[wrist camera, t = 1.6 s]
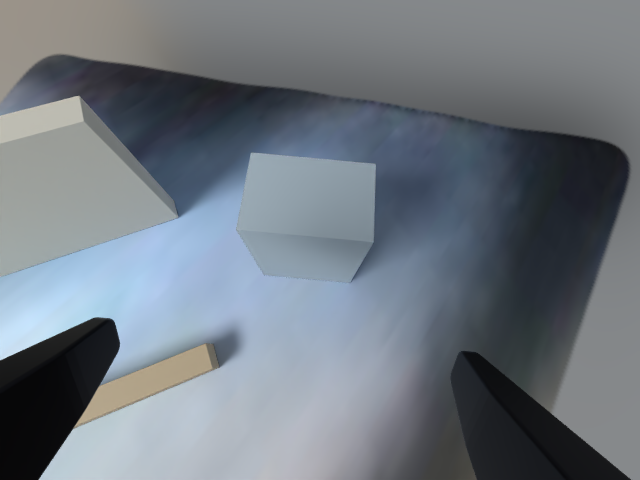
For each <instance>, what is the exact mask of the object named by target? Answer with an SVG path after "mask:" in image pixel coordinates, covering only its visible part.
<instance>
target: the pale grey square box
mask: <svg viewBox="0 0 640 480" xmlns="http://www.w3.org/2000/svg"><path fill="white" fill-rule="evenodd" d="M375 174H376V164H371V163H360V162H349V161H338V160H327V159H316V158H305V157H294V156H283V155H272V154H261V153H251V156H250V161H249V166H248V171H247V176H246V181H245V186H244V191H243V197H242V202H241V207H240V212H239V217H238V222H237V227H236V230H237V232H238V234H239V235H240V237H241V239H242V240H243V242H244V244H245V245H246V247H247V249H248V250H249V252H250V254H251V255H252V257H253V258H254V260H255V262H256V263H257V265H258V267H259V268H260V270H261V272H262V273H263V275H264V276H275V277H286V278H297V279H308V280H319V281H330V282H341V283H350V282H351V280H352V278H353V277H354V275H355V273H356V272H357V270H358V268H359V266H360V265H361V263H362V261H363V260H364V258H365V256H366V255H367V253H368V251H369V249H370V248H371V246H372V244H373V243H374V214H375Z"/></svg>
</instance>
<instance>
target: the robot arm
mask: <svg viewBox="0 0 640 480" xmlns="http://www.w3.org/2000/svg"><path fill="white" fill-rule="evenodd" d="M119 347H120V341H119V337H118V333H117V329H116V325H115V322H114V321H113V320H112V319H110V318H99V317H97V318H93V319H90V320H88V321H86V322H84V323H81V324H79V325H77V326H75V327H73V328H70V329H68V330H66V331H64V332H62V333H60V334H57V335H55V336H53V337H51V338H49V339H46V340H44V341H42V342H40V343H38V344H35V345H33V346H31V347H29V348H27V349H24V350H22V351H20V352H18V353H16V354H13V355H11V356H9V357H7V358H5V359H3V360H0V480H39V478H40V477H41V475H42V474H43V472H44V471H45V469H46V468H47V467H48V465H49V464H50V462H51V461H52V459H53V458H54V456H55V455H56V453H57V452H58V450H59V449H60V447H61V446H62V444H63V443H64V441H65V440H66V439H67V437H68V436H69V434H70V433H71V431H72V430H73V428H74V427H75V425H76V424H77V422H78V421H79V419H80V418H81V416H82V415H83V413H84V412H85V410H86V408H87V407H88V405H89V403H90V402H91V400H92V398H93V396H94V394H95V393H96V391H97V389H98V387H99V385H100V384H101V382H102V380H103V378H104V376H105V375H106V373H107V371H108V369H109V367H110V366H111V364H112V362H113V360H114V358H115V357H116V355H117V353H118V351H119ZM450 380H451V386H452V390H453V394H454V398H455V403H456V407H457V411H458V416H459V420H460V424H461V429H462V433H463V437H464V441H465V445H466V448H467V451H468V454H469V457H470V460H471V463H472V466H473V469H474V472H475V475H476V478H477V480H631V479H630V478H628V477H627V476H626V475H625V474H624V473H622V472H621V471H620V470H619V469H618V468H616V467H615V466H614V465H613V464H611V463H610V462H609V461H608V460H607V459H605V458H604V457H603V456H602V455H601V454H599V453H598V452H597V451H596V450H595V449H593V448H592V447H591V446H590V445H588V444H587V443H586V442H585V441H583V440H582V439H581V438H580V437H579V436H578V435H576V434H575V433H574V432H573V431H571V430H570V429H569V428H567V426H566V425H564V424H563V423H562V422H561V421H559V420H558V419H557V418H556V417H554V416H553V415H552V414H551V413H550V412H549V411H547V410H546V409H545V408H544V407H543V406H541V405H540V404H539V403H538V402H536V401H535V400H534V399H533V398H532V397H530V396H529V395H528V394H527V393H526V392H524V391H523V390H522V389H521V388H520V387H518V386H517V385H516V384H515V383H514V382H512V381H511V380H510V379H509V378H507V377H506V376H505V375H504V374H503V373H501V372H500V371H499V370H498V369H497V368H495V367H494V366H493V365H492V364H491V363H489V362H488V361H487V360H486V359H484V358H483V357H482V356H481V355H480V354H478V353H476V352H469V351H461V352H459V353H458V355H457V358H456V361H455V363H454V366H453V369H452V371H451V376H450Z"/></svg>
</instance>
